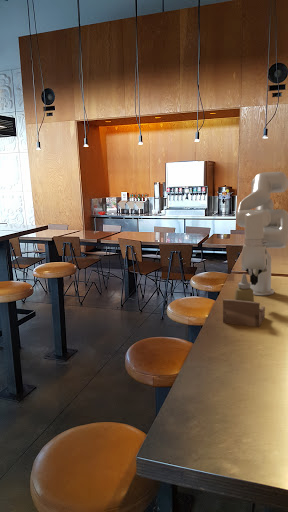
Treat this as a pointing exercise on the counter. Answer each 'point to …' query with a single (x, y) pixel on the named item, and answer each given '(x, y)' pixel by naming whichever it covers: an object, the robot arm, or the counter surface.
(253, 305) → the walnut holder
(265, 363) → the counter surface
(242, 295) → the squeeze bottle
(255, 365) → the counter surface
